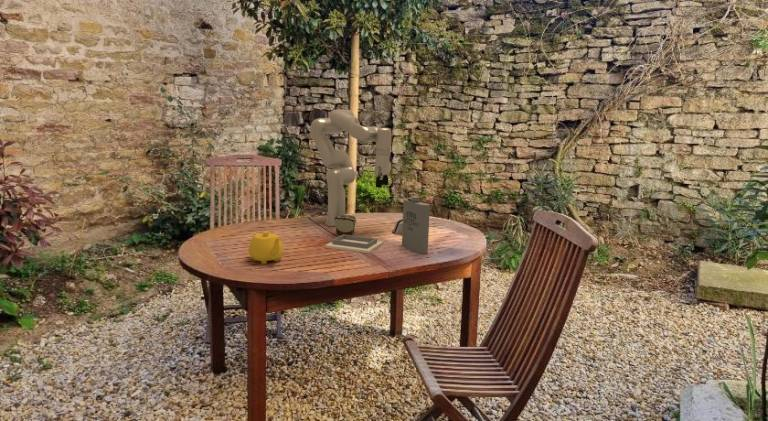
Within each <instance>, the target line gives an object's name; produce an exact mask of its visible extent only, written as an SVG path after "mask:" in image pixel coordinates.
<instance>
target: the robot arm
mask: <svg viewBox="0 0 768 421" xmlns="http://www.w3.org/2000/svg"><path fill="white" fill-rule="evenodd" d="M343 130H344V131H347V133H348V134H349V136H350V137H352V138H353V139H356V140H357V141H360V142H364V143H367V142H368V143H369V142H375V163H374V171H373V172H374V173H373V174H374V175H375V188H378V189H381V188H383V186H388V185H389V173H390V157H391V151H392V130H391V128H389V127H380V126H364V125H361V124H360V122H359V118H358V117H357V116H355V115H354V113H353V111H352V110H350V109H343V108H342V109H339V108H337V109H334V110H332V111H331V112H330V113H329V115H328V117H319V118H315V119H313V120H312V122H311V125H310V132H309V133H310V136H311V138H312V140H313V142H314V144H315V146H316V149H317V152H318V153H319V156H320V158H321V161H322V164H323V165H324V166H325V168H331V169H329V170H328V171H327V172H326V183H327V198H328V199H327V215H322V216H321V219H322V220H325V223H324V224H325V225H326V226H327V227H328V226H329V227H335V220H334V217H335V216H337V215H346V190H345V188H344V185H349V184H352V183H354V181H355V180H356V171H355V169H354V166H353V164H352V161H351V158H350V156H349V154H348V153H347V152H346V151H345V150H344V149H336V148H334V145H333V143H332V140H330V138H329V137H328V136H327V135H329V134H338V133H340V132H342V131H343ZM326 134H327V135H326Z"/></svg>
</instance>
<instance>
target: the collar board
mask: <svg viewBox="0 0 768 421" xmlns="http://www.w3.org/2000/svg"><path fill="white" fill-rule="evenodd" d="M382 245H384V241H381V240H378V238H376V237H375V238H374V237H367V236H359V235H354V236H352V235H344V234H343V235H341V236H337V237H336V238H333V239H331V241H330V242H329V243H326V244H325V245H324V248H326V249H333V250H339V251H340V250H341V251H348V252H356V253H364V254H370V253H372V252H374V251H376V250H377V249H378V248H380V247H381V246H382Z"/></svg>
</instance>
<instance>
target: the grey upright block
mask: <svg viewBox="0 0 768 421" xmlns="http://www.w3.org/2000/svg"><path fill="white" fill-rule="evenodd" d="M402 204H403V206H402V218H403V228H402V234H401V246H402V247H403V248H405V249H407V250H410V251H411V252H414V253H418V254H421V255H427V254H428V253H429V237H430V235H429V233H430V215H431V214H430V212H431V210H430V208H431V204H430V203H425V202H422V201H420V196H414V195H413V196H410V197H407V198H404V199H403V203H402Z"/></svg>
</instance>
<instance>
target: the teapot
mask: <svg viewBox="0 0 768 421" xmlns="http://www.w3.org/2000/svg"><path fill="white" fill-rule="evenodd" d="M247 253H248V255H249V256H250V258H251V259H253V262H260V264H261V265H267V263H268V261H273V262H276V263H277V262H280V259H281V258H282V257H283V255H284V253H285V249H284V245H283V241H282V240H281V238H280V236H279V235H278V234H275V233H272V232H270V231H268V230H264V231H262V233H257V232H254V233H253V236H252V238H251V240H250V243H249V246H248V252H247Z"/></svg>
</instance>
